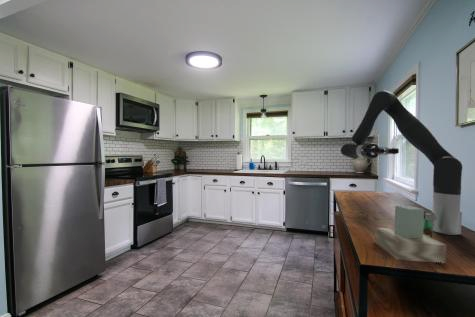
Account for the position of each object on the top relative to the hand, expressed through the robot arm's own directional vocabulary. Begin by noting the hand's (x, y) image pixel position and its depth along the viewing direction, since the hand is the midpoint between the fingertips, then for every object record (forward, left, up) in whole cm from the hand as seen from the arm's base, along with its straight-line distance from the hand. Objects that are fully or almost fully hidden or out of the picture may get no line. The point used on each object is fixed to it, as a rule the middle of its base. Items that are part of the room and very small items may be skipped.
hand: (388, 150), depth 109 cm
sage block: (+9, +26, -29) cm, 40 cm away
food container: (-12, +8, -35) cm, 38 cm away
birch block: (+9, +26, -35) cm, 45 cm away
